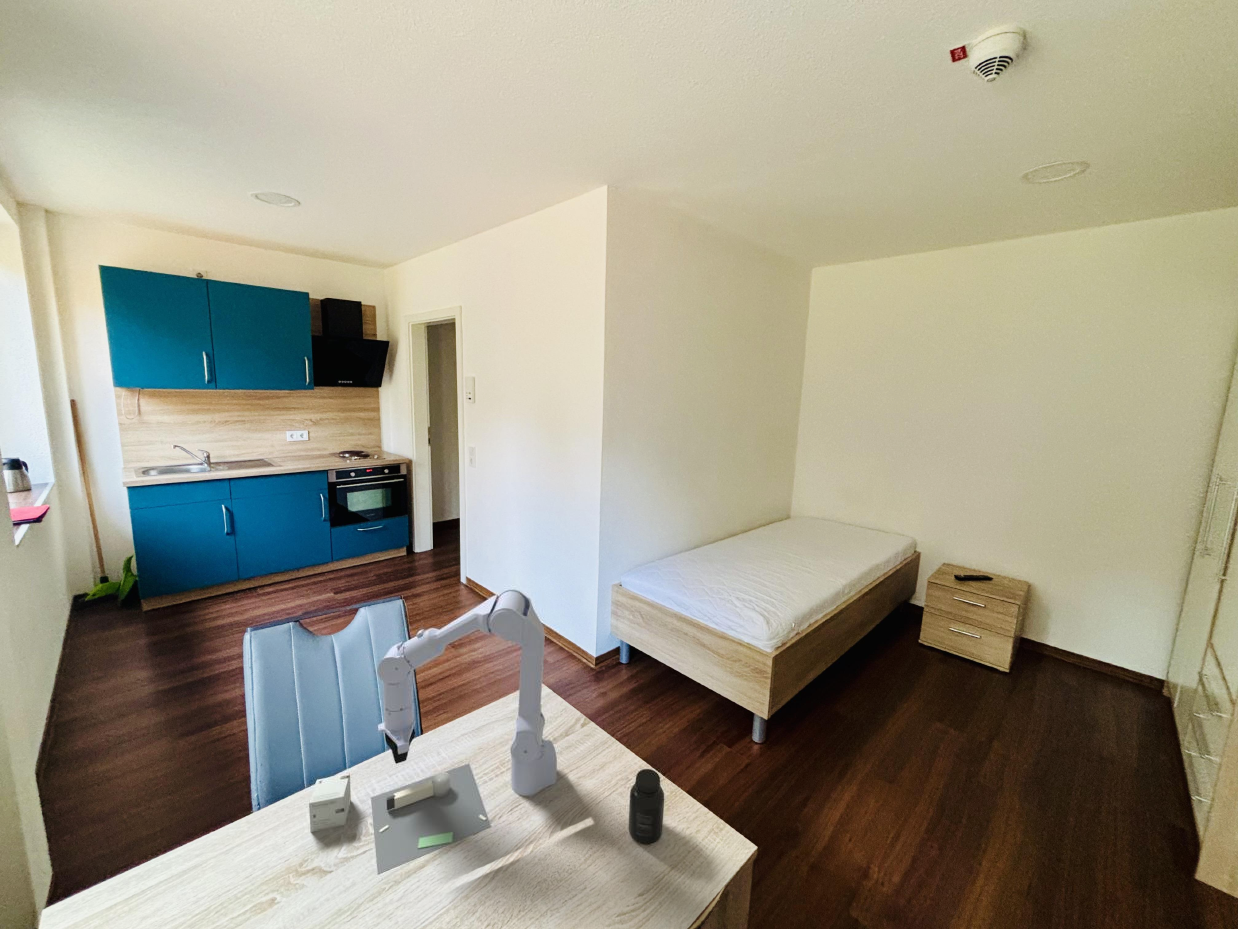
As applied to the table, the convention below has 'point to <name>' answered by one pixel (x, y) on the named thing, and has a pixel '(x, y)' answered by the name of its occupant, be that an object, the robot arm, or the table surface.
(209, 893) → the table surface
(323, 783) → the skincare box
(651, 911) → the table surface
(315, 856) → the table surface
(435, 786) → the peg lever
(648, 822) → the supplement bottle
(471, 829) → the tuner board
